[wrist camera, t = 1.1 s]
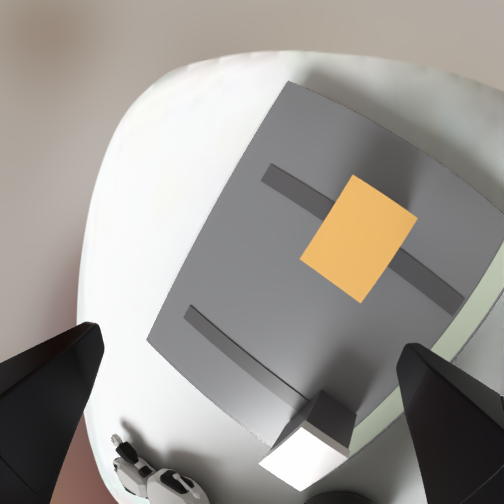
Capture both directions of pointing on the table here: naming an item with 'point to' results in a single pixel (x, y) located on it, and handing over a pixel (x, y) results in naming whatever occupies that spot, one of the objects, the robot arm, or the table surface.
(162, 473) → the robot toy
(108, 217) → the table surface
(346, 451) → the on switch
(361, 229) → the switch
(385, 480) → the table surface
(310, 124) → the panel
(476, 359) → the table surface
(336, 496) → the cola bottle
